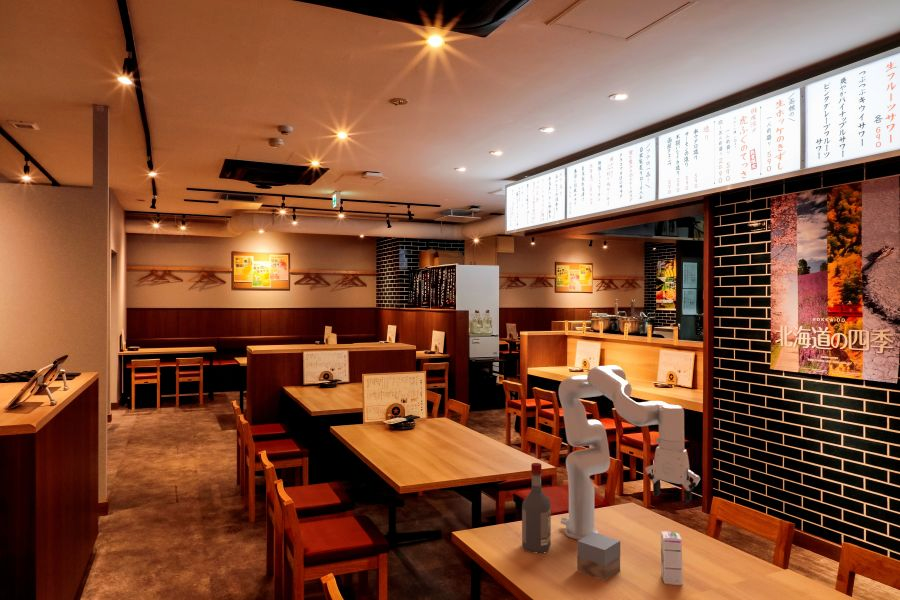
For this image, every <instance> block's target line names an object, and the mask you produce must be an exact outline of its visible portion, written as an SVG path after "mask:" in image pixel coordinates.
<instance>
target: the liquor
mask: <svg viewBox="0 0 900 600" xmlns="http://www.w3.org/2000/svg"><path fill="white" fill-rule="evenodd" d="M542 473H543V471H542V463H539V462H533V463H531V473H530V474H531V488H530V492H529V493H528V494H527V496H526V497H525V498H524V499H523V501H522V504H521V546H522V548H524V549H525V551H526V550H527V551H530V552H529V553H533V552H537V553H536V554H539V553H541V554H545V553H544V552H546V553H547V552H548V551H547V550H549V548H550V546H551V545H552V544H551V543H552V540H551V537H552V536H551V535H552V534H551V533H552V532H551V531H552V530H551V529H552V528H551V527H552V526H551V524H552V523H551V521H552V515H551V514H552V512H551V507H552V505H551V504H552V502H551V500H550V498H549V497H548V496H547V495H546V494H545V492H544V491H543V488H542ZM524 549H523V550H524ZM527 551H526V552H527Z"/></svg>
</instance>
